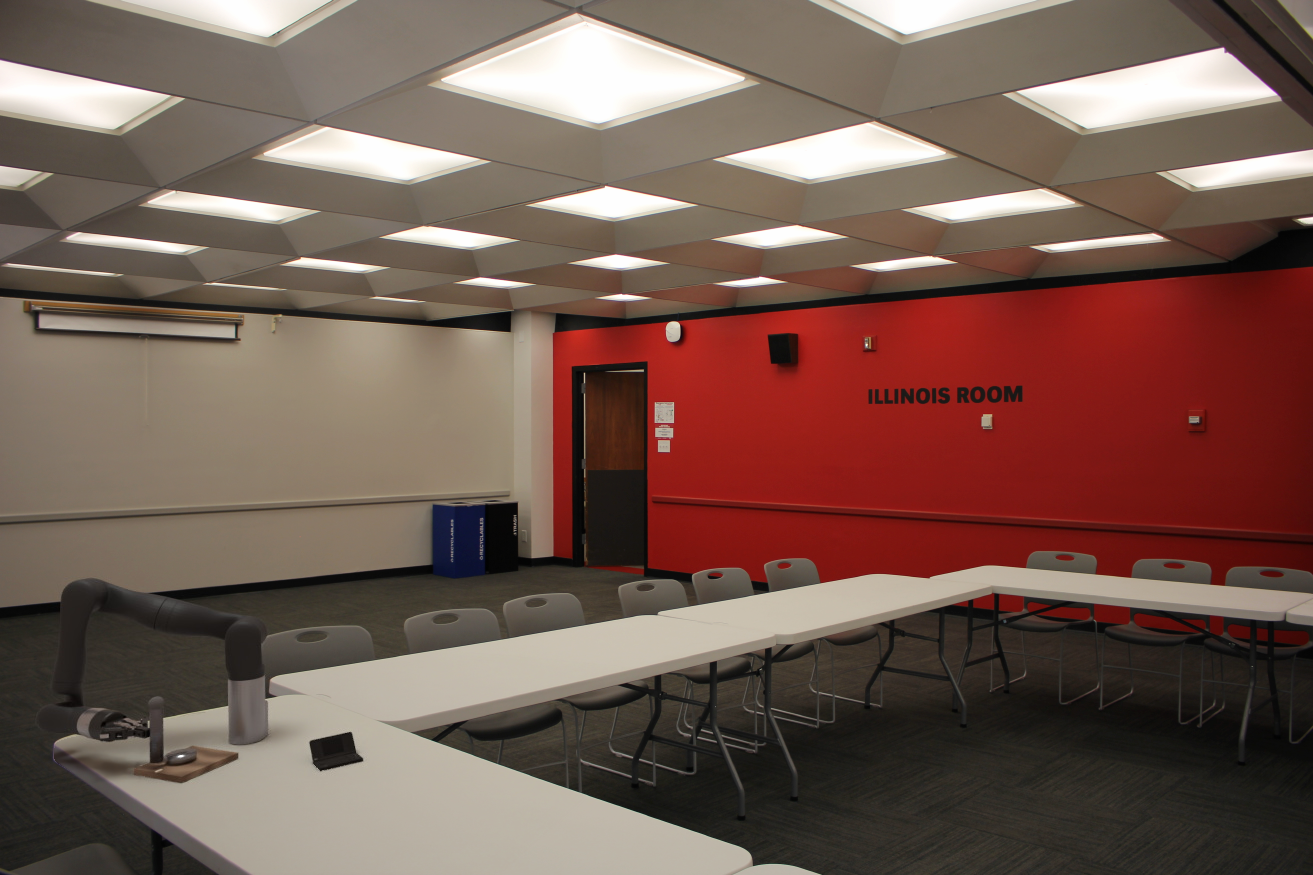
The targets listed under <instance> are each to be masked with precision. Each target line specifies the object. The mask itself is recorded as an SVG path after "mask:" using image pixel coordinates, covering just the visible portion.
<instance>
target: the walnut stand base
mask: <svg viewBox="0 0 1313 875" xmlns="http://www.w3.org/2000/svg"><path fill="white" fill-rule="evenodd" d="M187 748H192V749H196V750H197V757H196V759H194V760H192V761H190V762H186V763H182V764H167V763H165V762H164V763H160V764H157V763H150V761H149V762H148V763H145V764H142V765H138V766H137V767H134V768H133V776H138V777H144V776H145V777H144V778H150V777H151V779H157V780H162V781H167V780H168V782H174V783H180V784H182V783H185V782H188V781H189V780H192V779H194V778H196V776H197V777H199V776H201V775H204V774H206V773H208V772H210V771H213V770H215V769H218V768H219V767H222V766H224V764H225V765H226V764H229V763H231V762H233V761H236V760H238V759H239V752H235V751H229V750H223V749H218V748H217V749H216V748H210V747H203V746H197V745H191V746H188V747H187Z"/></svg>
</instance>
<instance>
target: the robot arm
mask: <svg viewBox="0 0 1313 875" xmlns="http://www.w3.org/2000/svg"><path fill="white" fill-rule="evenodd" d="M92 613H101V614H107V615H114V616H119V617H122V618H126V619H127V620H130V621H131V622H133V623H135V624H137V625H139V626H141V627H144V628H145V629H148V630H152V631H155V632H160V633H164V634H167V635H168V634H169V635H175V636H183V637H209V638H210V637H211V638H215V639H219V640H223V641H224V659H225V660H224V661H225V669H226V672H227V694H228V696H227V699H228V703H227V704H228V715H227V717H228V721H227V722H228V743H229V744H231V745H249V744H252V743H253V744H254V743H257V742H259V741H261V740H264V739H265V738H266V736H269V701H268V700H266V668H265V664H264V663H263V659H262V657H263V656H262V644H263V643H264V642H265V640H266V639H267V636H268V633H269V631H268V626H267V625H266V623H265V622H264V620H262V619H260V618H258V617H256V616H252V615H246V614H245V615H243V614H237V613H231V612H224V611H219V610H216V609H212V608H209V607H206V606H202V605H199V604H196V603H192V602H187V601H185V600H181V599H177V598H173V597H169V596H164V595H158V594H154V593H149V592H143V591H136V590H131V589H128V588H125V587H122V586H120V585H117V584H113V583H110V582H107V581H105V580H103V579H99V578H96V577H95V578H93V577H87V578H82V579H81V578H80V579H77V580H73V581H71V582H70V583H68V584H67V585H66V586H64V588H63V590H62V592H61V595H60V617H59V618H60V620H59V621H60V622H59V624H60V625H59V637H58V645H57V654H56V657H55V661H54V668H53V673H52V678H51V682H50V691H51V692H52V693H53V694H56V695H63V696H64V701H62V702H54V703H53V702H52V703H49V704H45V705H43V706H42V707H41V708H40V709H38V711H37V712H36V714H35V724H36V725H37V728H38V729H39V730H41V731H42V732H44V733H50V734H74V735H77V736H82V737H85V738H87V739H92V740H96V741H100V742H105V743H113V742H115V741H123V740H124V741H126V740H128V738H131V739H133V738H139V739H148V738H150V732H149V716H144V717H142V718H141V719H140V720H136V719H134V718H129V717H127V715H126V714H124V713H123V712H122V711H118V710H113V709H108V708H102V707H90V706H85V702H84V692H83V690H84V689H83V683H84V678H85V675H86V670H87V669H86V668H87V663H88V662H87V660H88V651H87V630H88V625H89V621H90V620H91V616H92Z"/></svg>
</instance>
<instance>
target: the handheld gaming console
mask: <svg viewBox="0 0 1313 875" xmlns="http://www.w3.org/2000/svg"><path fill="white" fill-rule="evenodd" d="M308 745H309V749H310V753H311V759H312V765H313V764H314V765H315V766H316V767H315V766H314V765H313V766H314V767H315V768H316V769H317V768H318V769H319V770H320V771H319V770H318V769H317V770H318V771H319V772H323V771H322V770H324V771H327V769H328V770H331V768H332V769H336V768H340V766H341V767H345V766H349V765H353V764H357V763H361V762H364V757H362V755H360V754H359V753H357V748H356V744H355V739H354V735H353V732H352V731H348V732H343V733H339V734H332V735H330V736H325V737H320V738H316V739H311V740H309V742H308ZM344 765H345V766H344Z"/></svg>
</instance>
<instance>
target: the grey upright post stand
mask: <svg viewBox="0 0 1313 875" xmlns="http://www.w3.org/2000/svg"><path fill="white" fill-rule="evenodd" d="M164 706H165V698H163V697H162V696H154V697H152V698H150V699H149V701H148V702H147V708H148V712H149V714H148V715H149V716H148V728H149V732H150V737H149V762H150V763H157V764H160V763H164V762H165V763H167V764H182V763H186V762H190V761H192V760H194V759H196V757H197V750H196V749H192V748H188V747H185V748H180V749H179V748H178V749H176V750H171V751H169V752H167V753H165V754H164V751H165V749H164V748H165V747H164V745H165V744H164Z"/></svg>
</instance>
